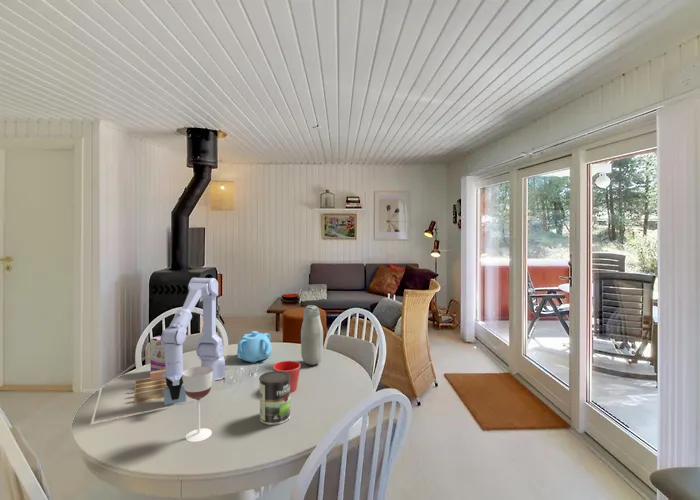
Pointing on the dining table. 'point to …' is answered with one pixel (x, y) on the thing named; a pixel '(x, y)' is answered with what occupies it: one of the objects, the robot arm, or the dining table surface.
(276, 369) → the flower pot
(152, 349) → the candy bar box
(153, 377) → the salmon pink block
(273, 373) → the coffee can
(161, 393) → the dish rack
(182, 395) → the slate plate
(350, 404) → the dining table surface
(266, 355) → the decorative pot
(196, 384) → the wineglass
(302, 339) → the grey bottle
